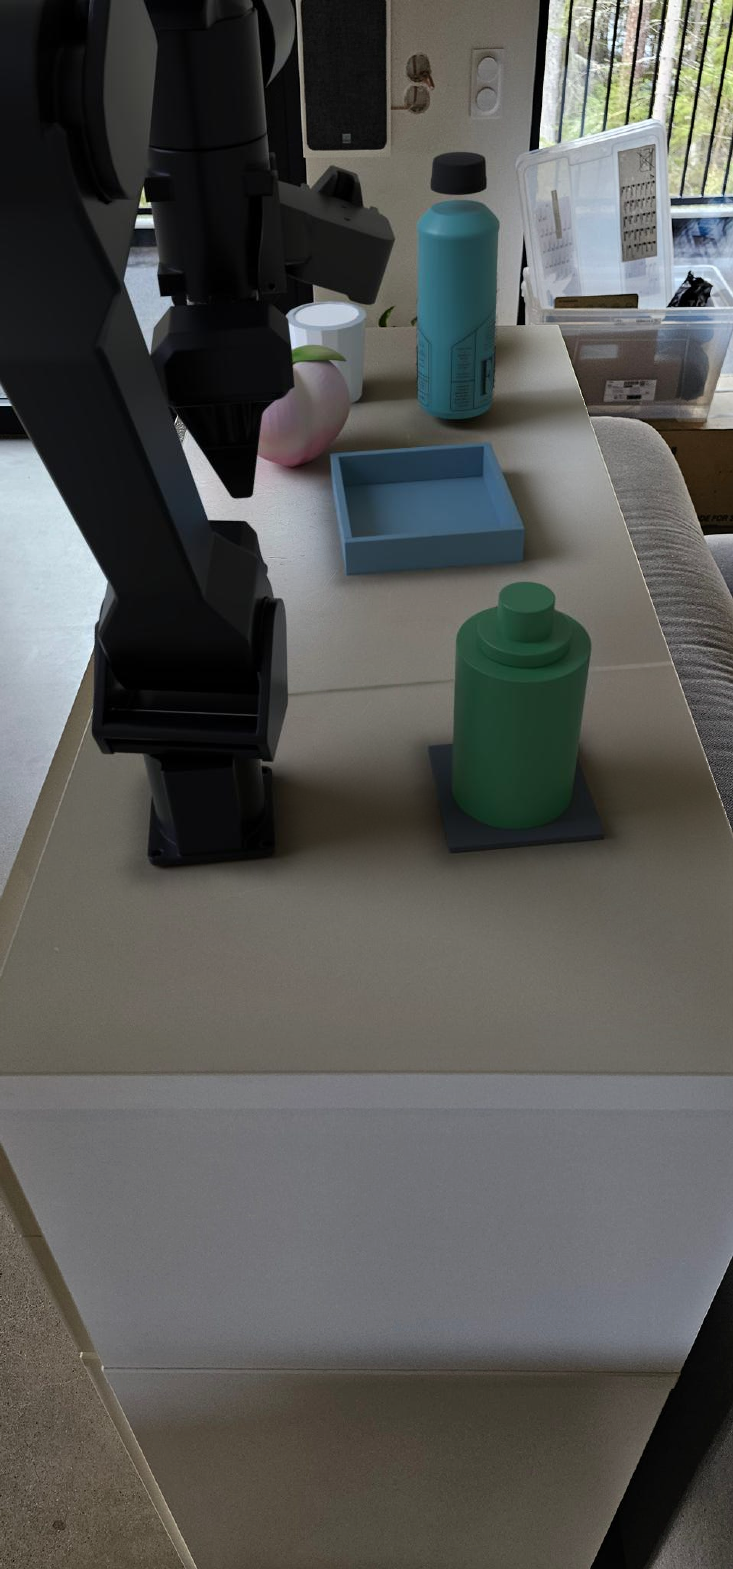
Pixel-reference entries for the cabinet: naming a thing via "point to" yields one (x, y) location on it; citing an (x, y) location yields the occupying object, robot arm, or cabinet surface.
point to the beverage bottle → (457, 293)
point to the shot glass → (333, 336)
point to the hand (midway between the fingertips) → (241, 456)
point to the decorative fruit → (306, 409)
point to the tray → (424, 509)
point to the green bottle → (518, 709)
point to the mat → (476, 835)
